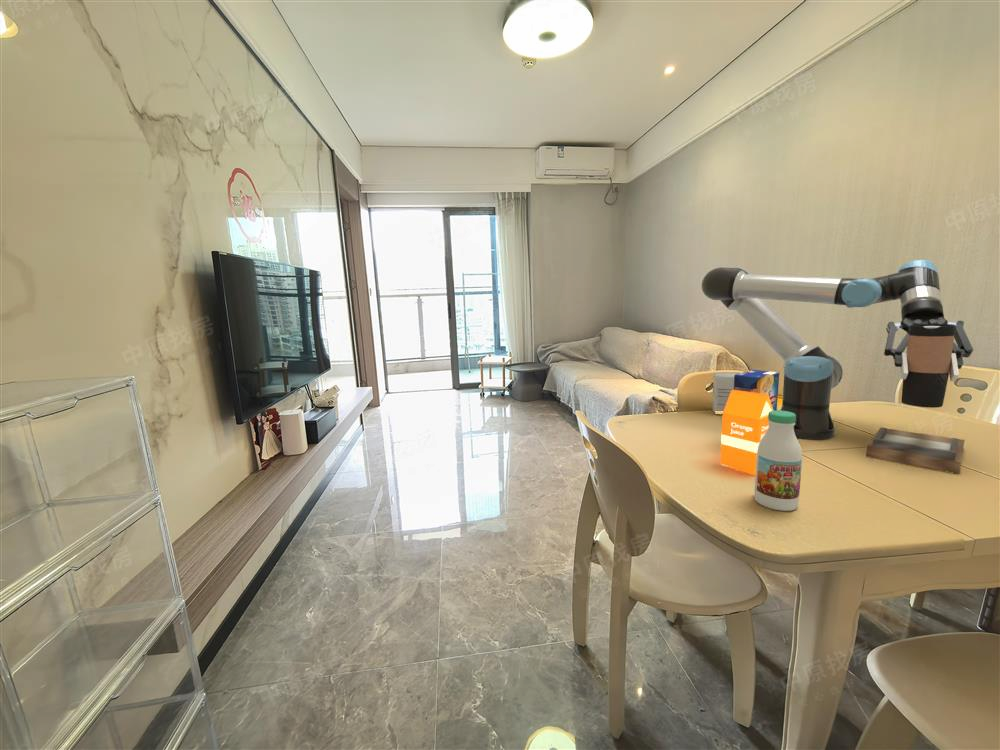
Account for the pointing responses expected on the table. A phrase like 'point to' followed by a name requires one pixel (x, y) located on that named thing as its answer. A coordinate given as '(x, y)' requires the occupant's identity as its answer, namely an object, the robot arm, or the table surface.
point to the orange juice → (744, 429)
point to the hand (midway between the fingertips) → (929, 377)
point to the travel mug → (928, 364)
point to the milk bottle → (779, 464)
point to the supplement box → (722, 389)
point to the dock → (917, 449)
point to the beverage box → (759, 384)
